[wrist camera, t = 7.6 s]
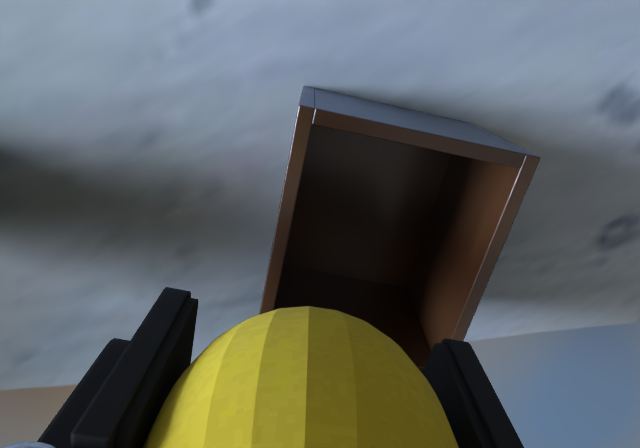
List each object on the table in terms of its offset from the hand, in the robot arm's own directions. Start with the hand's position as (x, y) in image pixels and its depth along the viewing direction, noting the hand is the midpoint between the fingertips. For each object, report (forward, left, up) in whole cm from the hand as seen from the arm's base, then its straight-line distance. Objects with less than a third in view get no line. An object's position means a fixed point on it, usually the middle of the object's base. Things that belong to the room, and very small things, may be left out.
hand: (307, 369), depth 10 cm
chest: (+3, +5, -24) cm, 25 cm away
